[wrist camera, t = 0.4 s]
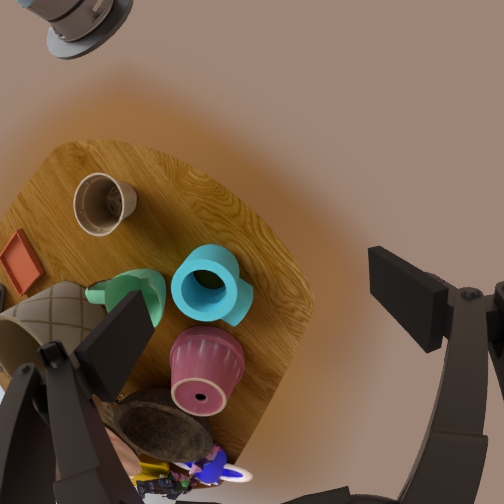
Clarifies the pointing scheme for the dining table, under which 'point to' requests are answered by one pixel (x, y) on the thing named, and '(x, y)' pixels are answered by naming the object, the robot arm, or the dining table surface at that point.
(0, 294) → the can opener
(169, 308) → the dining table surface
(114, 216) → the flower pot
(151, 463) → the element tile
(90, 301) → the mug
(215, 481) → the toy airplane
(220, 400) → the flower pot
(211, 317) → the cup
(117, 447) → the sculpture
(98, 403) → the boat shoe
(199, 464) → the toy
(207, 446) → the bowl
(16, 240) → the pot tray
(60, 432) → the robot arm
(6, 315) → the planter
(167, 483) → the action figure
